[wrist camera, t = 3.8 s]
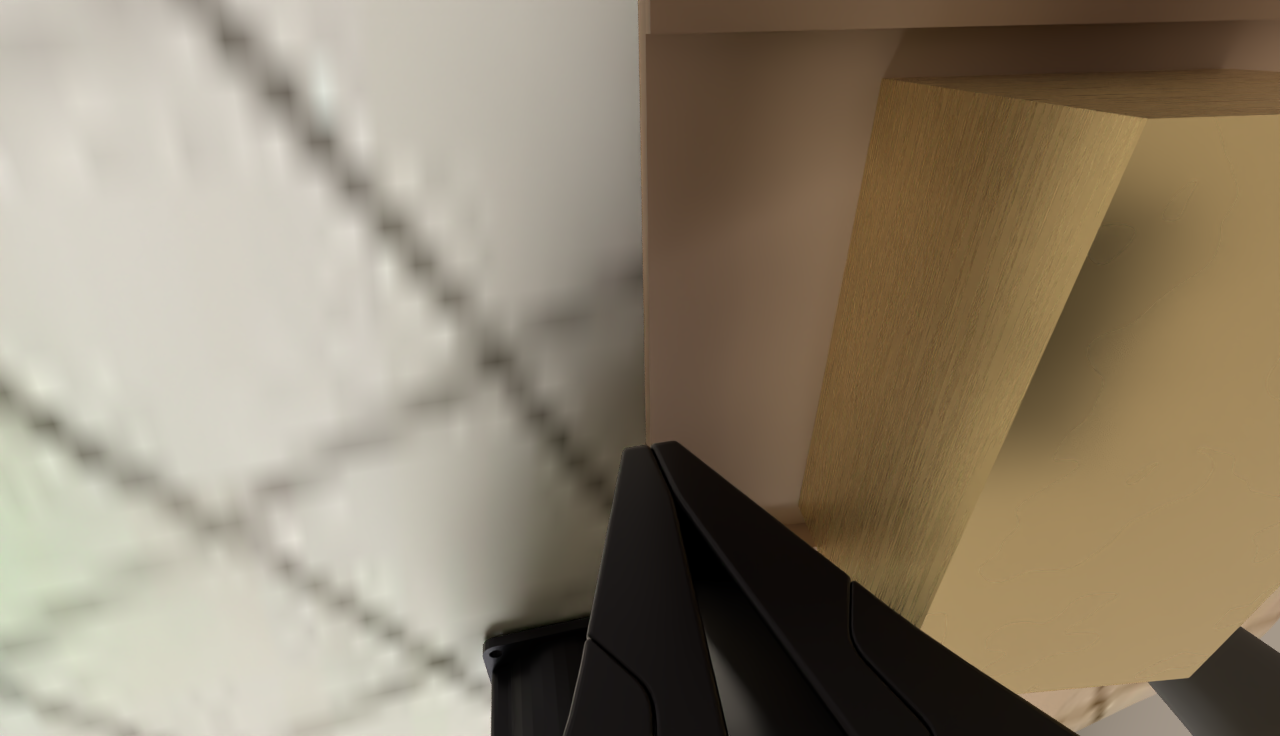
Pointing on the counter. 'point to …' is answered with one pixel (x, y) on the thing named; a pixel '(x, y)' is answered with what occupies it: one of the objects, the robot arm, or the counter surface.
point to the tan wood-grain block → (1060, 370)
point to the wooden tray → (823, 180)
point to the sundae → (1229, 691)
